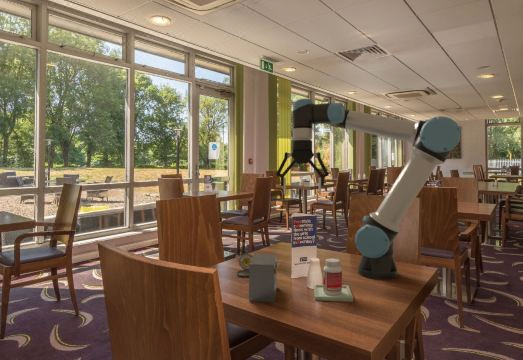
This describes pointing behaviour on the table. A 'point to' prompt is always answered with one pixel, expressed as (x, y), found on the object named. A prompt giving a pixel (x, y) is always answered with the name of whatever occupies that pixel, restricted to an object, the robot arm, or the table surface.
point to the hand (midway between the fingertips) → (302, 194)
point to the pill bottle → (332, 277)
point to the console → (263, 277)
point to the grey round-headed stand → (244, 259)
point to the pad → (323, 296)
